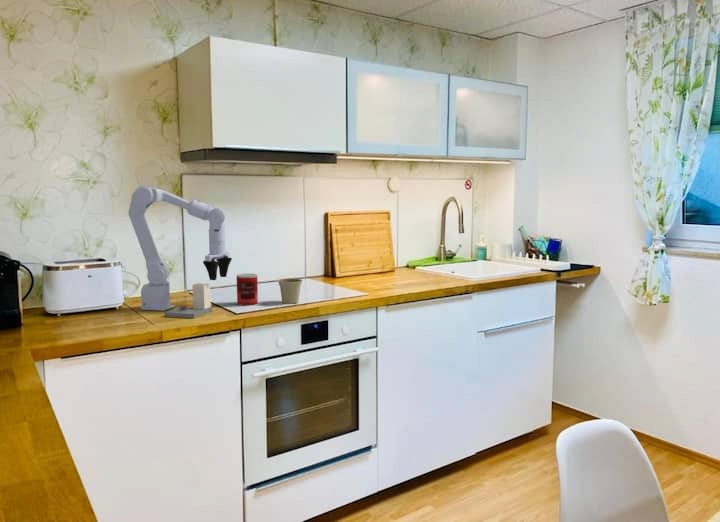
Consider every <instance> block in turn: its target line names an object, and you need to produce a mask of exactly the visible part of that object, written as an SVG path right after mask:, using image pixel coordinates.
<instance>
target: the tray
mask: <svg viewBox="0 0 720 522" xmlns="http://www.w3.org/2000/svg"><path fill="white" fill-rule="evenodd" d="M212 311H213V307H212V306H211V307H209V308H206V309H204V310H203V309H193V308H187V305H181V306H179V307H175V308H172V309H169V310H168V311H165V312H164V317H165V318H180V319H182V318H184V319H195V318H198V317H200V316H203V315H205V314H208V313H210V312H212Z"/></svg>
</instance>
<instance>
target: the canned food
mask: <svg viewBox="0 0 720 522" xmlns="http://www.w3.org/2000/svg"><path fill="white" fill-rule="evenodd" d="M258 282H259V281H258V274H256V273H238V274H236V301H237V304H238V305H239V306H255V305H257V304H258V303H259V302H258V301H259V299H258V298H259V297H258V296H259V294H258V293H259V292H258V291H259V290H258Z"/></svg>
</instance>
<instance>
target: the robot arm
mask: <svg viewBox="0 0 720 522" xmlns="http://www.w3.org/2000/svg"><path fill="white" fill-rule="evenodd" d="M158 202H160V203H161V202H166V203H168V204H170V205H173V206H177V207H179V208H182V209H184V210H186V211H187V213H188V215H190V216H192V217H195V218H198V219H200V220H203V221H208V224H209V227H208V228H209V229H208V241H209V242H208V244H209V247H208V248H209V249H208V250H209V251H208V254H207V255H204V260H203V261H202V263H203V265H204V267H205V268H206V271H207V275H208V277H209V280H210V281H216V280H217V276H218V271H219V277H220V278H227V274H228V271H229V266H230V264H231V262H232V259H233V258H232V257H230V251H226V230H225V223H224V221H225V219H226V217H225V213H224V211H223V210H222V209H220V208H218V207H216V208H215V206H214V205H212V204H211V205H209V204H208V203H207V204H206V203H204V202H202V200H201V199H192V200H190V201H189V200H187V199H185V198H182V197H180V196H178V195H177V194H174V193H171V192H169V191H166V190H164V189H159V188H156V187H155V188H153V187H151V186H149V185H148V186H146V185H141V186H138V187H137V188H136V189H135V191H133V193H132V194H131V198H130V205H129V208H128V211H127V213H128V216H129V220H130V223H131V224H132V227H133V230H134V233H135V235H136V238H137V241H138V243H139V246H140V249H141V251H142V254H143V256H144V260H145V264H146V265H145V266H146V267H145V268H146V269H147V275H146V277H147V280H148V283H145V284H143V286H142V287H141V290H140V300H141V301H140V303H141V307H140V309H139V310H141V311H142V310H143V311H144V310H145V311H166V310H170V309H173V308H176V305H175V304H171V293H170V292H171V291H170V281H169V280H168V278H169V276H170V272H169V271H170V270H169V268H168V267H167V266H166V265H165V264H164V261H163V260H162V258H161V256H160V254H159V251H158V249H157V245H156V243H155V240H154V238H153V235H152V232H151V229H150V228H149V225H148V222H147V218H146V217H145V213H146V212H147V210H149V208H150V206H151V205H152V204H154V203H158Z"/></svg>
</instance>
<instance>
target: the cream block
mask: <svg viewBox="0 0 720 522" xmlns="http://www.w3.org/2000/svg"><path fill="white" fill-rule="evenodd" d="M191 287H192V309H203V310H204V309H206V308H209V307H212V306H211V302H212V301H211V296H212V295H211V283H209V282H207V283H206V282H198V283H195V284H192V286H191Z"/></svg>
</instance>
